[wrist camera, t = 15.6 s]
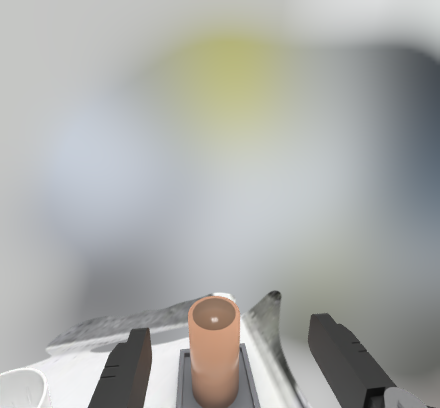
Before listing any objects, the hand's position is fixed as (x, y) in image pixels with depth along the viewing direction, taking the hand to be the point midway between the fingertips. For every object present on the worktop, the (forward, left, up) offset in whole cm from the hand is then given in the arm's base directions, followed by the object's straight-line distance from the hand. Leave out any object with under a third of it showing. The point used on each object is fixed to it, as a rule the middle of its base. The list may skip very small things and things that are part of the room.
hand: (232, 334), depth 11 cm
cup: (0, +13, -21) cm, 25 cm away
